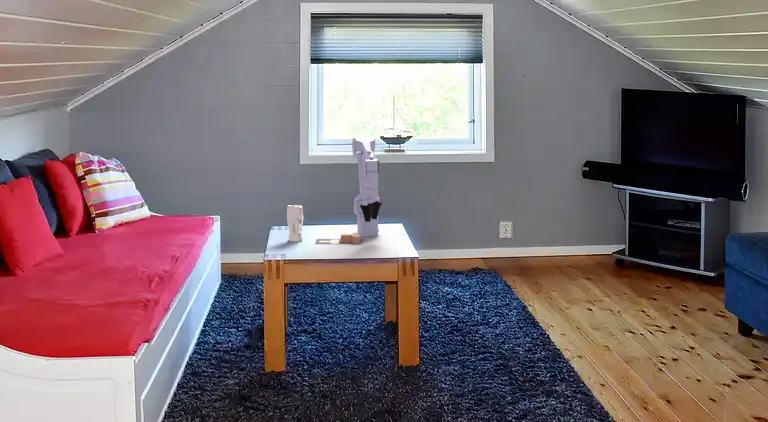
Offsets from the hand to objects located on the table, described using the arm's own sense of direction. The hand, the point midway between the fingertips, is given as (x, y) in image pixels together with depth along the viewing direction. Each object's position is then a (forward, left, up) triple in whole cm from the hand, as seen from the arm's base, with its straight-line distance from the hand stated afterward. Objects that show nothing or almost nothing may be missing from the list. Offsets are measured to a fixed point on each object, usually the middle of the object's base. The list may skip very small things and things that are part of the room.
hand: (371, 220), depth 315 cm
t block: (+9, 0, -9) cm, 13 cm away
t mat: (+13, 0, -10) cm, 16 cm away
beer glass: (+32, -4, -10) cm, 34 cm away
